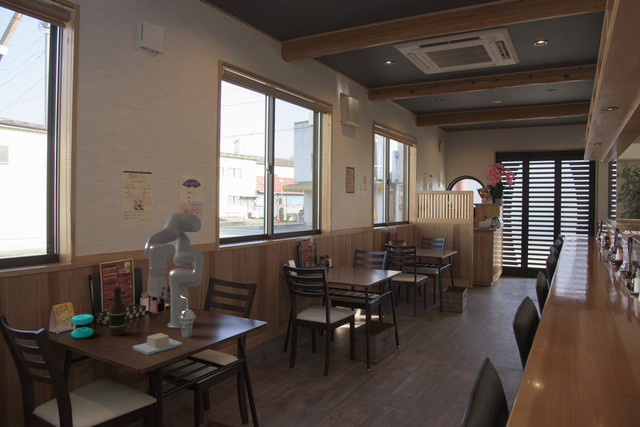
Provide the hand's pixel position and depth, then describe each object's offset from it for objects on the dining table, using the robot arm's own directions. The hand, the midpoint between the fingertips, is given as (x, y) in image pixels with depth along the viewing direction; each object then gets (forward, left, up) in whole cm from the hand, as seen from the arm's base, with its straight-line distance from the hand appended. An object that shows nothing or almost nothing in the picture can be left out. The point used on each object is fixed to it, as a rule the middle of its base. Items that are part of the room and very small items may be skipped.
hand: (157, 310), depth 213 cm
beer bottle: (+2, -35, -18) cm, 39 cm away
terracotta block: (0, 0, -1) cm, 1 cm away
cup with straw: (-19, -5, -18) cm, 26 cm away
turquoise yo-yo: (+15, -45, -18) cm, 50 cm away
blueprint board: (0, 0, -17) cm, 17 cm away
